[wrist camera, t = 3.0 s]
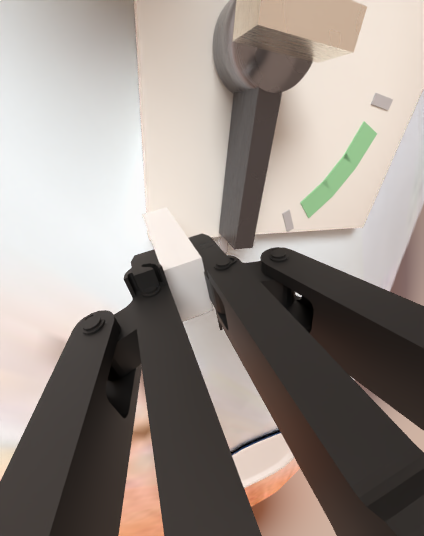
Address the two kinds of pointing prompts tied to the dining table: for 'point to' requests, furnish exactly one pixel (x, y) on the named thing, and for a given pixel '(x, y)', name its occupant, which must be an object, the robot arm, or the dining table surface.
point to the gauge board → (288, 121)
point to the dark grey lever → (268, 85)
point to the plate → (262, 458)
